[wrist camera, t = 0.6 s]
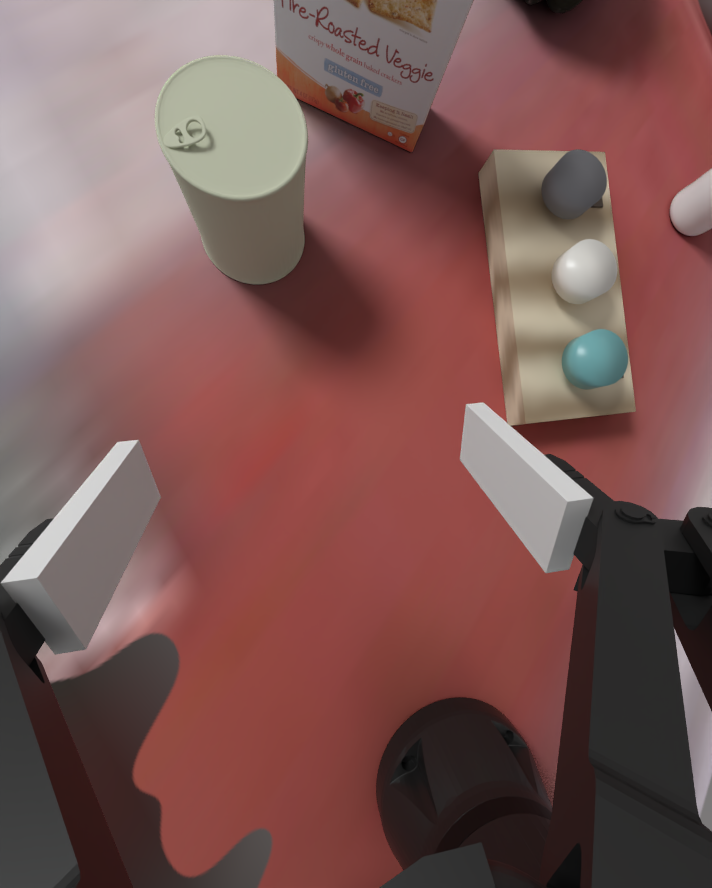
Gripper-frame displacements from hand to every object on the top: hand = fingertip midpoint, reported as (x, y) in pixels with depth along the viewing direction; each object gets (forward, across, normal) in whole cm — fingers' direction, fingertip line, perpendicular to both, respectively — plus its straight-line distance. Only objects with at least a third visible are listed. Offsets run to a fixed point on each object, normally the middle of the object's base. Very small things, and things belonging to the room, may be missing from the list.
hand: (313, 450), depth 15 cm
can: (+27, +3, -8) cm, 28 cm away
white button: (+21, -26, -3) cm, 33 cm away
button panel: (+24, -26, -1) cm, 36 cm away
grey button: (+25, -26, -10) cm, 37 cm away
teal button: (+17, -26, +4) cm, 31 cm away
